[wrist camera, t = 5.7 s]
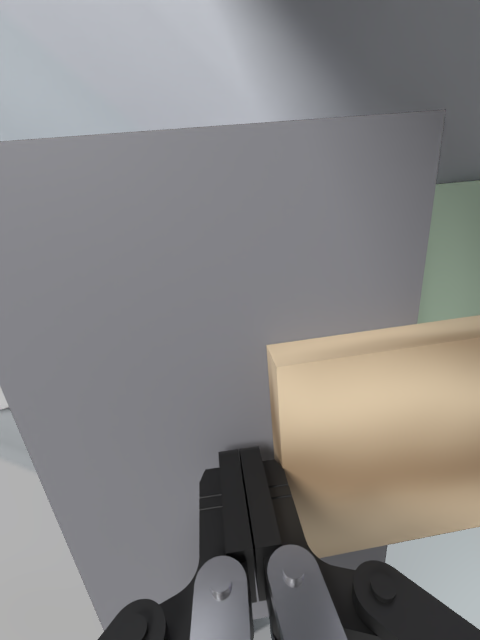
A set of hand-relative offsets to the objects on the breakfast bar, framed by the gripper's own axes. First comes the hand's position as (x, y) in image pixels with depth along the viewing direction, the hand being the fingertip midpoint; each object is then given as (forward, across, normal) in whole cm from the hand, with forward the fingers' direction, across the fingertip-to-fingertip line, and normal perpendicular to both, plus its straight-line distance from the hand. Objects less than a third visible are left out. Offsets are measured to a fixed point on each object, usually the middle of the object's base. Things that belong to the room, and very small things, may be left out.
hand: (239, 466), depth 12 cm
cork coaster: (+1, -6, 0) cm, 6 cm away
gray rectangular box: (+5, 0, 0) cm, 5 cm away
